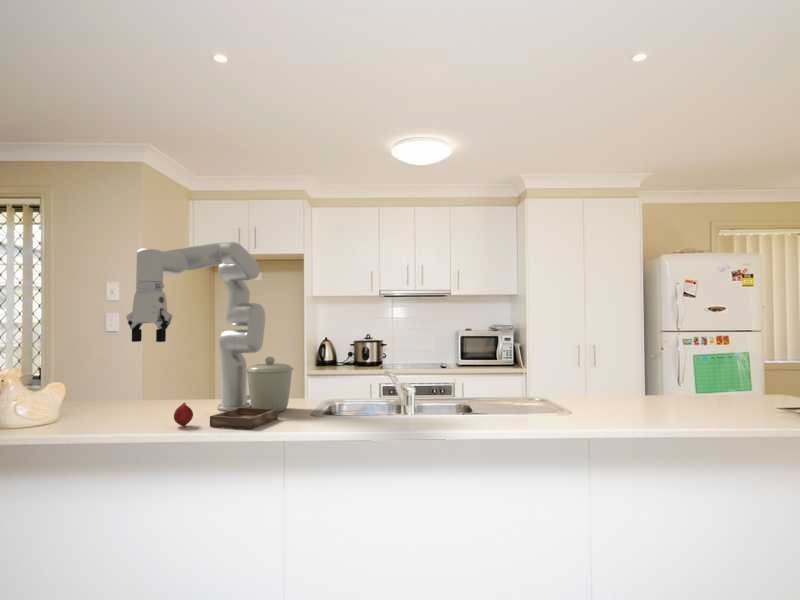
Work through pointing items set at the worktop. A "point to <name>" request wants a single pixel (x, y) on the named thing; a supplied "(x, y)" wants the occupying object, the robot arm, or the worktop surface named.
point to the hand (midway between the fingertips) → (148, 341)
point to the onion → (183, 415)
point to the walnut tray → (244, 418)
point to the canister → (269, 384)
